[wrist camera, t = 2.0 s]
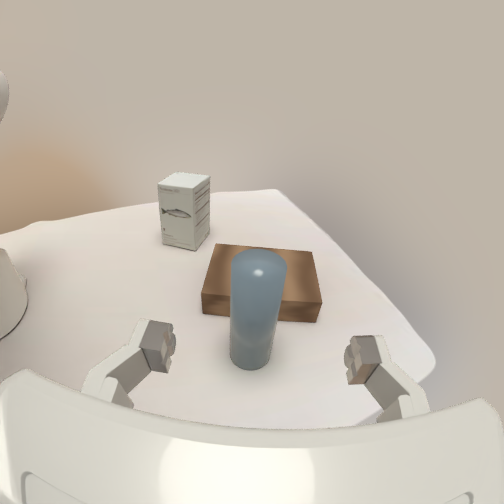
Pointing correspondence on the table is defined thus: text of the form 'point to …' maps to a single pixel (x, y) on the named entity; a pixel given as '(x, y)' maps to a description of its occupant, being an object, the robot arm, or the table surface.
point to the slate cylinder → (255, 305)
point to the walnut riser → (294, 293)
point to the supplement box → (184, 209)
